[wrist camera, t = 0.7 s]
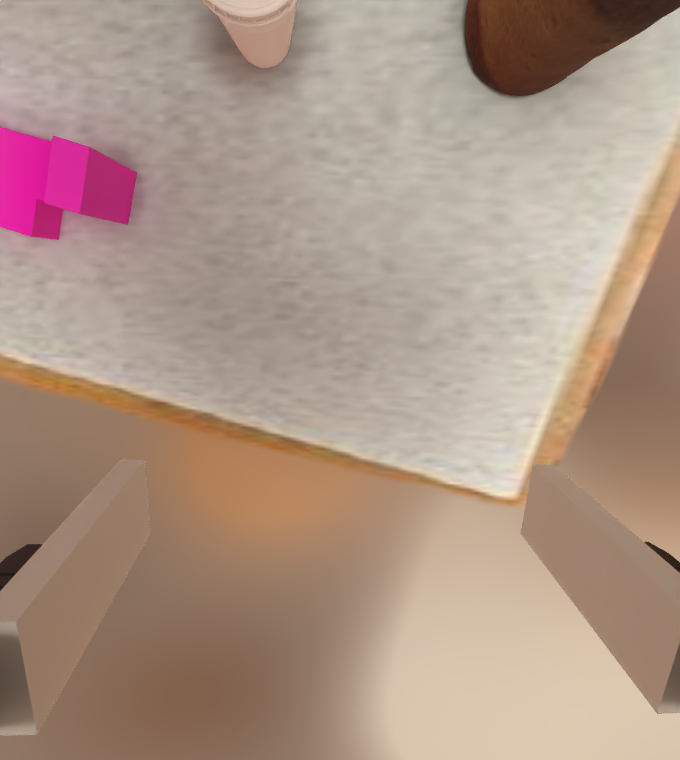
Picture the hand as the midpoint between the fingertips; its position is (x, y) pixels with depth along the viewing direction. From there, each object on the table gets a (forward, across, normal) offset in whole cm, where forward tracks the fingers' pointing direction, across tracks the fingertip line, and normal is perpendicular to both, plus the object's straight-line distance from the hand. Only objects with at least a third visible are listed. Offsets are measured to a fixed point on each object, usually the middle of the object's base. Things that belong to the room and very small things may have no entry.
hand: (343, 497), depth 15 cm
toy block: (+23, -22, +12) cm, 34 cm away
